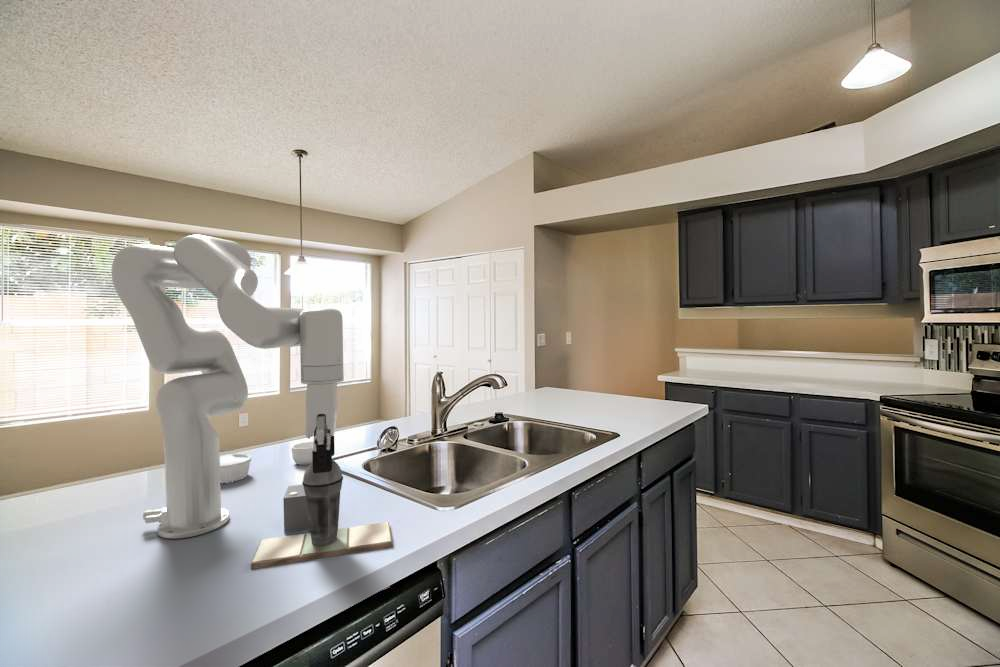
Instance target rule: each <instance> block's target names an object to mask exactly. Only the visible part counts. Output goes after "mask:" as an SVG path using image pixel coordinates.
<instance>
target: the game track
mask: <svg viewBox="0 0 1000 667" xmlns="http://www.w3.org/2000/svg"><path fill="white" fill-rule="evenodd" d="M391 546H392V547H393V540H392V534H391V527H390V522H389V521H385V522H379V523H371V524H365V525H356V526H350V527H343V528H338V531H337V539H336V541H335V542H333V543H331V544H328V545H324V546H315V545H313V544H312V540H311V535H310V532H308V533H307V532H306V533H300V534H294V535H285V536H280V537H272V538H264V539H261V540H260V542H259V544H258V546H257V548H256V551H255V553H254V555H253V557H252V560H251V562H250V570H252V569H258V568H259V569H260V568H265V567H270V566H276V565H277V566H278V565H283V564H291V563H296V562H303V561H309V560H315V559H316V560H317V559H322V558H323V559H324V558H328V557H334V556H342V555H347V554H355V553H360V552H361V553H362V552H367V551H373V550H378V549H379V550H380V549H385V548H384V547H387V548H391Z"/></svg>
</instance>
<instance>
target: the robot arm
mask: <svg viewBox="0 0 1000 667" xmlns="http://www.w3.org/2000/svg"><path fill="white" fill-rule="evenodd" d="M112 261H113V262H112V264H111V281H112V285H113V288H114V290H115V292H116V294H117V297H119V300H120V301H121V303H122V304H123V306H124V307H125V309H126V310H127V312H128V314H129V315H130V317H131V319H132V321H133V323H134V326H135V330H136V332H137V334H138V336H139V339H140V342H141V345H142V347H143V349H144V352H145V354H146V356H147V359H148V361H149V363H150V365H151V368H153V369H154V371H156V372H157V373H159V374H161V375H163V374H164V375H177V374H183V373H184V374H185V373H193V372H201V374H200V373H199V374H192V375H186V376H179V377H177V378H173V379H170V380H168V381H167V382H166V383H164V384H163V385H162V386H161V387H160V388H159V390H158V391H157V394H156V398H155V401H156V403H155V404H156V408H157V413H158V416H159V421H160V424H161V430H162V436H163V452H164V454H163V455H164V472H165V474H164V475H165V477H164V478H165V503H166V504H165V505H166V506H163V507H162V508H159V509H155V508H154V509H147V510H144V512H143V515H142V520H143V521H144V522H145V524H150V523H157V522H158V523H159V524H158V526H157V535H158V536H159V537H161V538H164V539H175V540H176V539H184V538H191V537H196V536H199V535H203V534H206V533H210V532H212V531H214V530H216V529H219V528H221V527H222V526H224V525H225V524H226V523H227V522H228V521H229V520H230V515H231V514H230V511H229V510H228V509H227V508H224V507H222V498H221V497H222V495H221V494H222V493H221V484H220V456H221V455H220V439H219V436H218V433H217V431H216V429H215V428H214V427H213V425H212V424H211V423H210V420H209V419H211V418H213V417H218V416H222V415H225V414H230V413H233V412H236V411H238V410H240V409H242V407H243V406H245V404H246V403H247V400H248V396H249V390H248V384H247V381H246V378H245V376H244V373H243V371H242V368H241V366H240V363H239V361H238V359H237V356H236V353H235V351H234V349H233V346H232V344H231V342H230V340H229V339H228V338H227V337H226V336H225V335H224V334H223V333H222V332H220V331H218V330H216V329H213V328H193V327H190V326H189V325H188V323H187V322H186V319H185V318H184V314H183V311H182V310H181V307H180V306H179V305H178V304H177V303H176V301H174V299H173V298H172V297H170V296H169V295H168V294H167V293H166V292H164V291H163V290H162V289H161V287H164V288H165V287H167V288H179V289H180V288H181V289H182V288H183V289H202V288H203V289H206V291H208V292H209V293H210V294H211V295H212V296H213V297H215V298H216V299H217V302H216V306H217V311H218V313H219V317H220V319H221V321H222V322H223V324H224V326H226V327H227V329H228V330H230V331H231V332H232V333H234V335H236V336H237V337H238V338H240V339H241V340H242V341H243V342H245V343H246V344H248V345H250V346H252V347H254V348H256V349H257V348H258V349H263V350H265V349H277V348H293V347H299V352H300V354H299V355H300V356H299V357H300V383H301V384H303V385H306V392H305V393H306V394H305V437H306V439H311V437H313V442H314V443H313V451H312V459H313V473H322V472H330V471H332V460H333V458H332V457H334V456H335V452H336V451H335V431H336V428H337V427H336V426H337V417H338V383H342V382H344V380H345V379H344V373H345V372H344V327H343V325H344V324H343V320H344V319H343V314H342V312H341V311H340V310H338V309H334V308H307V309H306V308H297V307H296V308H295V307H293V308H292V307H273V306H272V307H270V306H269V307H267V306H263V305H262V304H260V303H259V302H257V301H256V300H255V299H254V298H253V297H252V296H253V294H254V293H255V292H256V290H257V288H258V284H259V279H258V276H257V274H256V272H255V271H254V270H253V269H252V257H251V254H250V253H249V252H248V250H247V249H246V248H245V247H244V246H243V245H242V244H240V243H238V242H236V241H233V240H229V239H224V238H223V239H222V238H220V237H219V238H218V237H214V236H208V235H202V234H192V235H187V236H184V237H182V238H180V239H179V240H178V241H177V242H176V243H175V244H174V247H167V246H160V245H155V244H133V245H127V246H125V247H123V248H121V249H120V250H119V251H117V253H116V254H115V256H114V258H113V260H112Z"/></svg>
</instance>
